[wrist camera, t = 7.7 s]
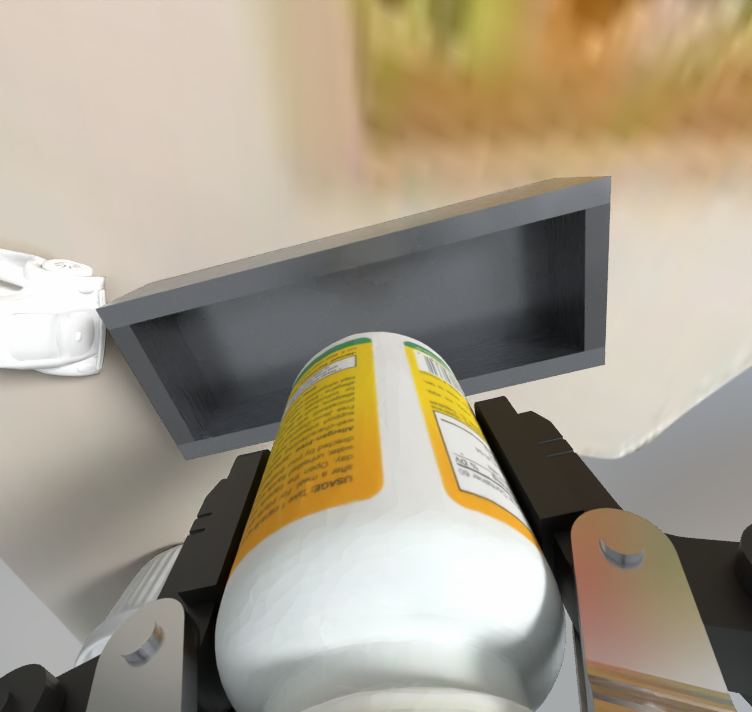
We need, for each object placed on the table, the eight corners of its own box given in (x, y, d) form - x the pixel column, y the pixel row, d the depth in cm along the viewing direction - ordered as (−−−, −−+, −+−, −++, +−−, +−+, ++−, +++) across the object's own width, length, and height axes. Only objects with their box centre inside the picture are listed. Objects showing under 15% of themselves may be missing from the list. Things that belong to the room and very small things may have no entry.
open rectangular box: (149, 283, 20) (95, 309, 16) (555, 177, 19) (611, 176, 14) (215, 412, 23) (185, 460, 19) (559, 331, 22) (604, 364, 18)
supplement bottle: (474, 336, 11) (917, 902, 2) (438, 473, 13) (596, 1027, 5) (292, 316, 10) (-18, 963, 2) (286, 463, 13) (136, 1069, 4)
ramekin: (162, 636, 33) (117, 741, 27) (104, 535, 28) (30, 638, 21) (307, 621, 33) (296, 722, 27) (279, 518, 28) (256, 616, 22)
